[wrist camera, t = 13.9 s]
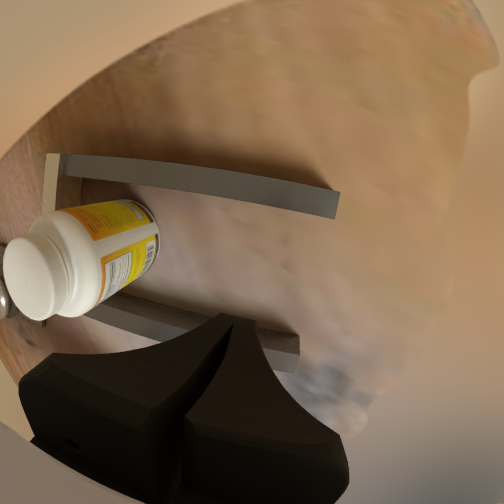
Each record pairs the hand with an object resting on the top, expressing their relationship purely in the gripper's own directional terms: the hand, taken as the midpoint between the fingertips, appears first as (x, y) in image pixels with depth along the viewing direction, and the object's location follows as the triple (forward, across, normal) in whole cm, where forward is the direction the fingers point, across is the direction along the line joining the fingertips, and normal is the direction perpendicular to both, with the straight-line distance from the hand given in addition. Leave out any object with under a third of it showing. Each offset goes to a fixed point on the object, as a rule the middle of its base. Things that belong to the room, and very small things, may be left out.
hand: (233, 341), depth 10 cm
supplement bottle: (+10, +10, 0) cm, 14 cm away
